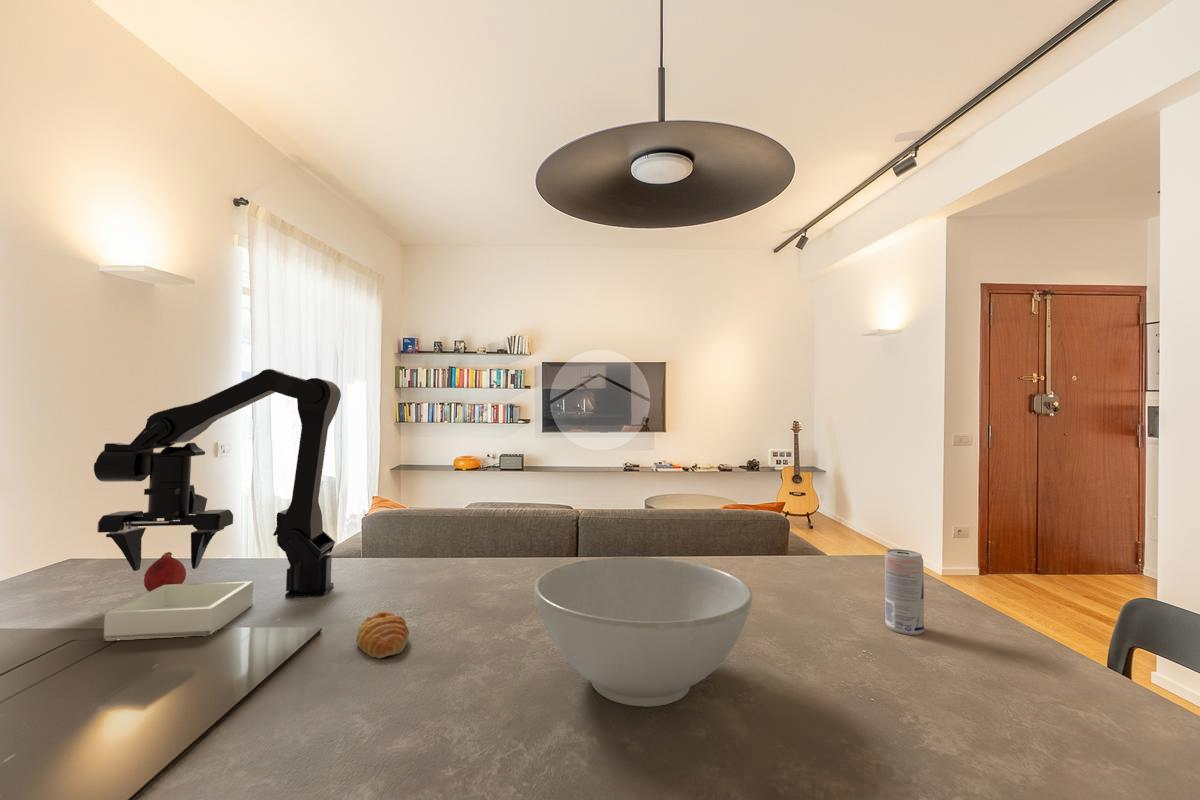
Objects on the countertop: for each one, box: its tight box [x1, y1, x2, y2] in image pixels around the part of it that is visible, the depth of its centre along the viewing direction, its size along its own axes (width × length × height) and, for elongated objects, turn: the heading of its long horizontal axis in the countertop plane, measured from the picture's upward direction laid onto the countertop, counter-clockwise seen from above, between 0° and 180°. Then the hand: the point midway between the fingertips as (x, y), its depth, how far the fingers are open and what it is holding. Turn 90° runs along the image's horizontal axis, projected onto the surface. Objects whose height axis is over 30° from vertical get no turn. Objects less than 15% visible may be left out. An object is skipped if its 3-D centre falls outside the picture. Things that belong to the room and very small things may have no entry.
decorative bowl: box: [533, 556, 753, 708], centre depth 67 cm, size 27×27×12 cm
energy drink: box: [884, 548, 925, 636], centre depth 85 cm, size 5×5×12 cm
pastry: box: [355, 611, 410, 659], centre depth 76 cm, size 9×7×4 cm
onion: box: [143, 551, 187, 592], centre depth 95 cm, size 6×6×8 cm
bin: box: [103, 580, 254, 640], centre depth 84 cm, size 14×14×4 cm
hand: (166, 569), depth 95 cm, fingers open, 9 cm apart
